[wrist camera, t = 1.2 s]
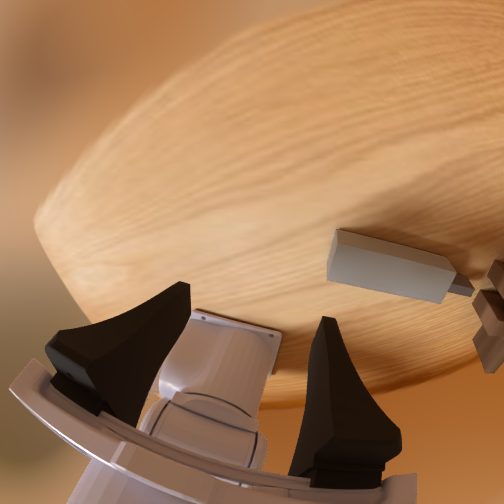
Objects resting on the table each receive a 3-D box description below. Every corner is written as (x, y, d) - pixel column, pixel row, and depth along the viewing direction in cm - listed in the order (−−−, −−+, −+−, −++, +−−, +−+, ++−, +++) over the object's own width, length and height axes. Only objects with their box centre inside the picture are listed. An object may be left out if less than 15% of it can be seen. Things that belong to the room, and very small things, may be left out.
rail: (326, 263, 21) (326, 280, 19) (336, 229, 19) (337, 243, 17) (456, 292, 19) (465, 308, 17) (470, 264, 17) (481, 279, 15)
